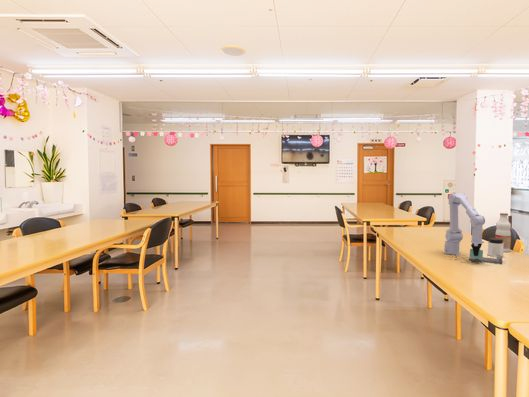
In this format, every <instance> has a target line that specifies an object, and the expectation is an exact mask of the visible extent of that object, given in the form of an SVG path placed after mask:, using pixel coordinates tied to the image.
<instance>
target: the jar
mask: <svg viewBox="0 0 529 397" xmlns="http://www.w3.org/2000/svg"><path fill="white" fill-rule="evenodd" d="M503 245H504V243H503V239H500V238H495V237H489V239H488V242H487V256H490V257H491V258H497V254H501V256H502V258H503V257H504V252H503Z"/></svg>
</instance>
